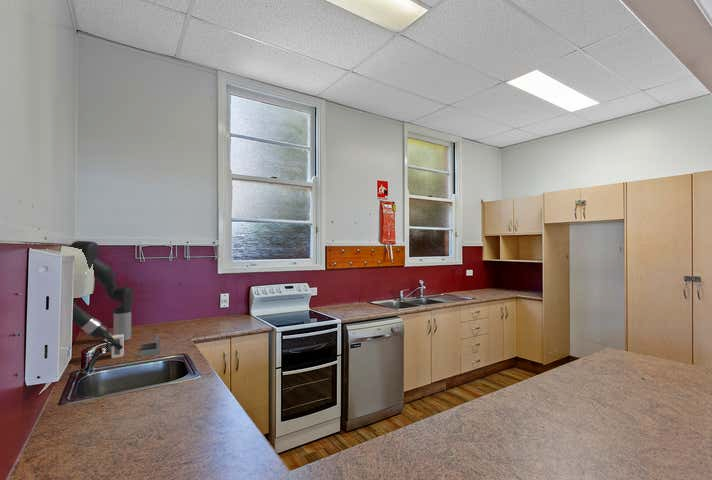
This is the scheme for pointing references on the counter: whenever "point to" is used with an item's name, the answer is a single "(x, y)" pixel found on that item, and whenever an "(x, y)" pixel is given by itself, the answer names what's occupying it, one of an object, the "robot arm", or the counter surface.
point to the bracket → (151, 345)
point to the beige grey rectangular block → (115, 351)
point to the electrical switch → (107, 345)
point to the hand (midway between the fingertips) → (121, 346)
